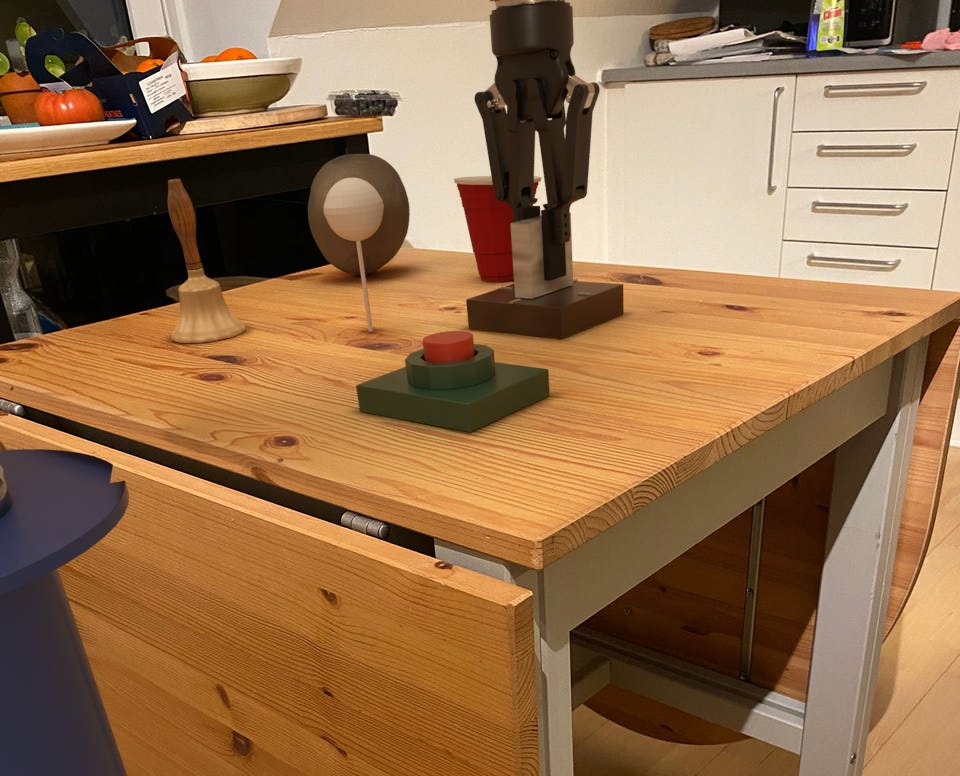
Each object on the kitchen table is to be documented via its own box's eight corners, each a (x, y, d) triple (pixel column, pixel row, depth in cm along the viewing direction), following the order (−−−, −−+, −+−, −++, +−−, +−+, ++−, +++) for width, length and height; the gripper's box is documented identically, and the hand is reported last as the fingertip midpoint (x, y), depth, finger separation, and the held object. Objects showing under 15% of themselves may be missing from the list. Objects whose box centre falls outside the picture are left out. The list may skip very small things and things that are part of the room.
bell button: (414, 363, 78) (412, 340, 77) (447, 350, 80) (445, 329, 80) (452, 368, 76) (449, 345, 75) (485, 355, 78) (483, 333, 77)
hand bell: (248, 336, 108) (216, 177, 100) (171, 347, 106) (133, 187, 98) (243, 321, 115) (213, 172, 107) (171, 332, 113) (135, 180, 105)
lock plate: (467, 329, 102) (464, 297, 101) (532, 305, 109) (531, 276, 108) (561, 339, 95) (560, 305, 93) (624, 313, 102) (624, 282, 101)
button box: (359, 411, 80) (351, 362, 78) (440, 379, 86) (435, 333, 84) (470, 432, 73) (465, 379, 71) (550, 395, 79) (547, 346, 77)
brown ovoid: (295, 283, 134) (274, 162, 127) (365, 263, 144) (350, 149, 136) (370, 288, 126) (353, 159, 119) (439, 267, 136) (427, 146, 128)
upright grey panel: (531, 299, 98) (527, 221, 94) (514, 297, 99) (510, 220, 95) (573, 284, 102) (570, 209, 98) (556, 283, 103) (553, 209, 100)
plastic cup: (563, 274, 123) (559, 169, 117) (491, 289, 119) (483, 181, 113) (515, 265, 132) (509, 167, 126) (446, 279, 127) (437, 178, 121)
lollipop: (363, 340, 102) (341, 182, 94) (331, 334, 105) (307, 181, 98) (410, 327, 105) (391, 173, 97) (377, 321, 109) (357, 173, 101)
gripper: (625, -8, 86) (627, 273, 98) (492, 11, 95) (509, 266, 107) (574, -7, 81) (583, 289, 93) (440, 13, 90) (463, 280, 102)
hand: (543, 276), depth 100 cm, fingers closed on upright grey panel, 2 cm apart
